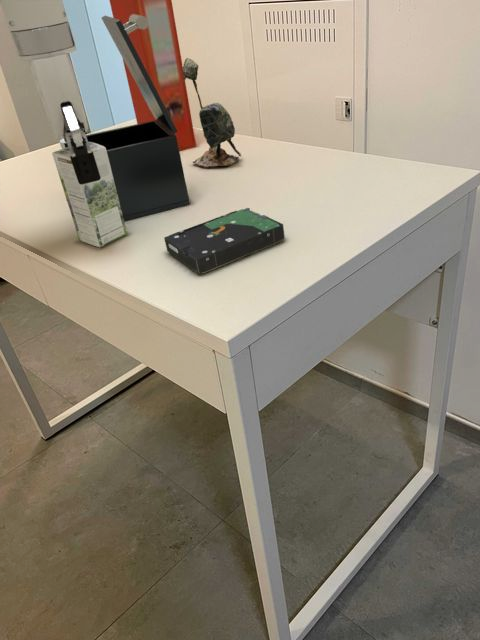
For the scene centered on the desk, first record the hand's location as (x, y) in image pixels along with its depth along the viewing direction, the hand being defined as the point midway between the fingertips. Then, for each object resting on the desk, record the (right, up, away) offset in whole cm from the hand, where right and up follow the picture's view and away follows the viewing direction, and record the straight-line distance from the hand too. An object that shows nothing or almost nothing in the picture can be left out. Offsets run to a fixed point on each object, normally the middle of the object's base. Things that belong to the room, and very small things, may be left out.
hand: (86, 173), depth 83 cm
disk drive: (+21, -11, -1) cm, 24 cm away
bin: (+4, 0, +18) cm, 18 cm away
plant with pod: (+18, +12, +31) cm, 38 cm away
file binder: (+4, +23, +48) cm, 53 cm away
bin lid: (+6, +18, +7) cm, 20 cm away
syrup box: (+1, -9, +7) cm, 11 cm away
